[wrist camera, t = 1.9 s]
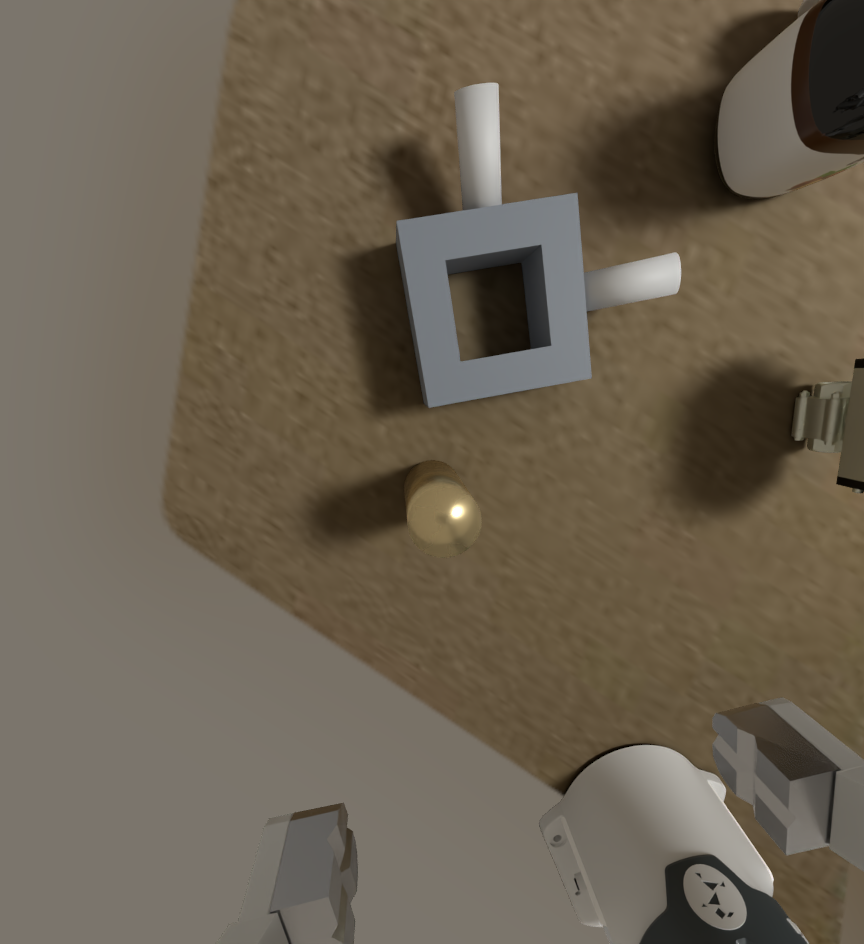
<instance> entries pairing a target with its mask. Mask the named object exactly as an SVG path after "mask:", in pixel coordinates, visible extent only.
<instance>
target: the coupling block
mask: <svg viewBox="0 0 864 944" xmlns="http://www.w3.org/2000/svg"><path fill="white" fill-rule="evenodd" d="M454 94H455V108H456V122H457V136H458V150H459V164H460V177H461V191H462V205H463V211H457V212H451V213H444V214H438V215H432V216H425V217H419V218H413V219H406V220H400V221H397V224H396V246H397V252H398V258H399V263H400V269H401V275H402V280H403V286H404V292H405V298H406V303H407V309H408V315H409V321H410V326H411V332H412V338H413V344H414V349H415V355H416V361H417V366H418V372H419V378H420V384H421V389H422V395H423V401H424V404H425V405H426V406H427V407H428V408H430V407H436V406H441V405H447V404H452V403H458V402H463V401H469V400H474V399H480V398H485V397H491V396H496V395H502V394H507V393H513V392H518V391H524V390H529V389H535V388H540V387H546V386H551V385H557V384H562V383H568V382H573V381H579V380H584V379H590V378H592V377H591V363H590V350H589V337H588V324H587V311H592V310H597V309H602V308H607V307H612V306H617V305H622V304H627V303H632V302H638V301H643V300H648V299H653V298H658V297H663V296H668V295H673V294H676V293H677V292H678V290H679V286H680V281H681V263H680V258H679V255H678V254H677V253H671V254H666V255H662V256H657V257H653V258H648V259H644V260H639V261H635V262H631V263H626V264H622V265H617V266H613V267H608V268H604V269H599V270H595V271H590V272H586V273H584V272H583V259H582V246H581V233H580V220H579V207H578V194H577V193H572V194H566V195H560V196H553V197H547V198H540V199H534V200H528V201H521V202H515V203H508V204H502V198H501V162H500V126H499V90H498V84H497V83H482V84H476V85H471V86H467V87H464V88H461V89H459V90H457V91H455V92H454ZM515 263H522V272H523V281H524V290H525V299H526V308H527V318H528V327H529V336H530V345H531V349H530V350H524V351H519V352H513V353H507V354H502V355H496V356H490V357H485V358H479V359H473V360H468V361H462V362H460V355H459V348H458V342H457V335H456V328H455V322H454V315H453V308H452V302H451V295H450V288H449V282H448V274H454V273H460V272H466V271H473V270H479V269H485V268H491V267H497V266H503V265H509V264H515Z"/></svg>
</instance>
